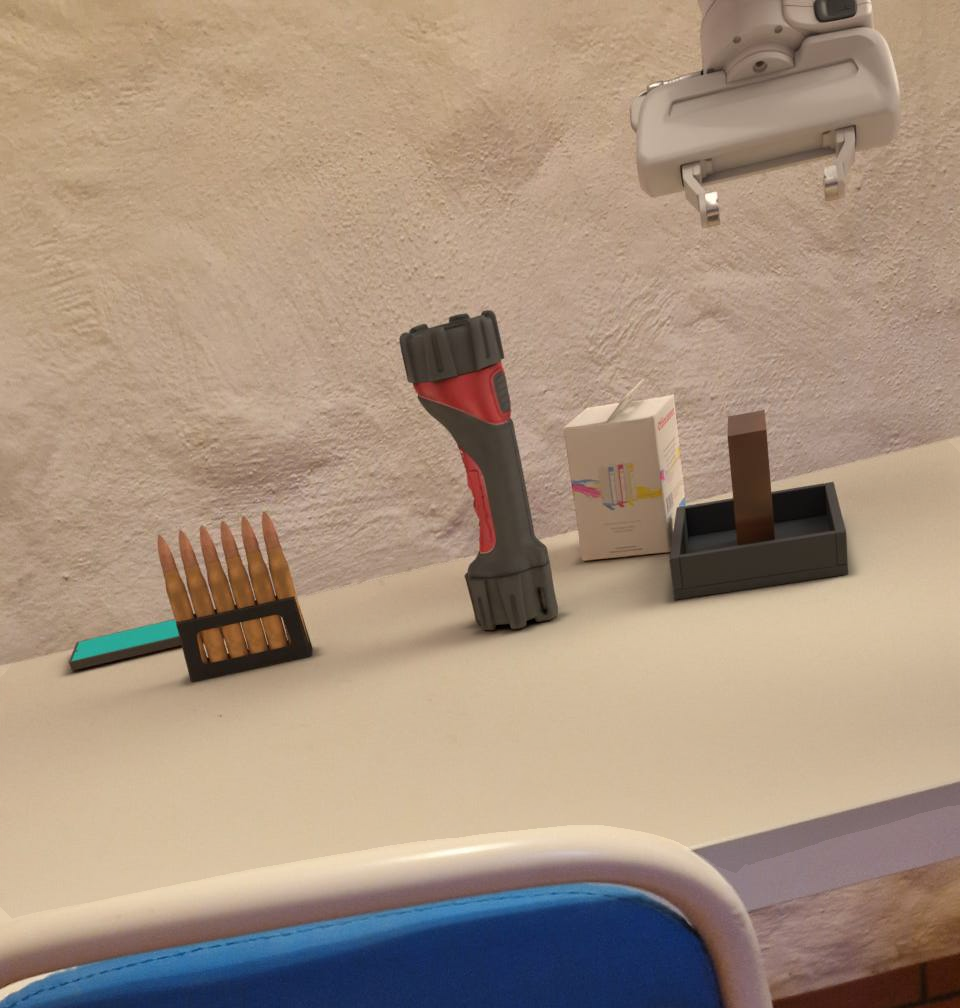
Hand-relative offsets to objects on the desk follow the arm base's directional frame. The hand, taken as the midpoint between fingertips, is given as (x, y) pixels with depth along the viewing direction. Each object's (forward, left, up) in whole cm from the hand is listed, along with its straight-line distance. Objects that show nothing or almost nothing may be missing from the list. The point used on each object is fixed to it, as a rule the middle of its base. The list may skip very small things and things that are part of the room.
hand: (772, 207), depth 108 cm
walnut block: (+3, +5, -24) cm, 25 cm away
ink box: (+14, -6, -25) cm, 30 cm away
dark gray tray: (+3, +5, -25) cm, 26 cm away
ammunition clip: (+46, +14, -25) cm, 54 cm away
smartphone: (+60, +2, -25) cm, 65 cm away
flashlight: (+24, +12, -25) cm, 37 cm away
